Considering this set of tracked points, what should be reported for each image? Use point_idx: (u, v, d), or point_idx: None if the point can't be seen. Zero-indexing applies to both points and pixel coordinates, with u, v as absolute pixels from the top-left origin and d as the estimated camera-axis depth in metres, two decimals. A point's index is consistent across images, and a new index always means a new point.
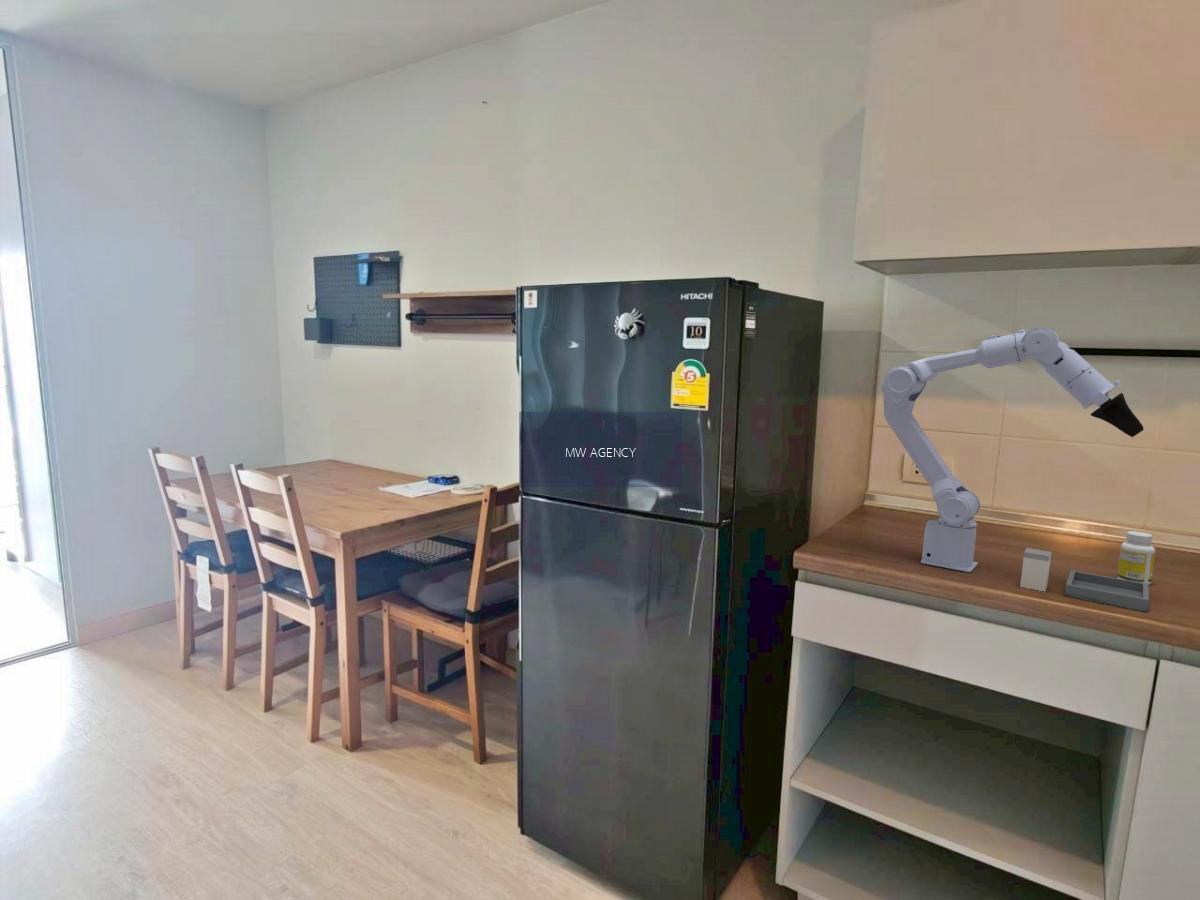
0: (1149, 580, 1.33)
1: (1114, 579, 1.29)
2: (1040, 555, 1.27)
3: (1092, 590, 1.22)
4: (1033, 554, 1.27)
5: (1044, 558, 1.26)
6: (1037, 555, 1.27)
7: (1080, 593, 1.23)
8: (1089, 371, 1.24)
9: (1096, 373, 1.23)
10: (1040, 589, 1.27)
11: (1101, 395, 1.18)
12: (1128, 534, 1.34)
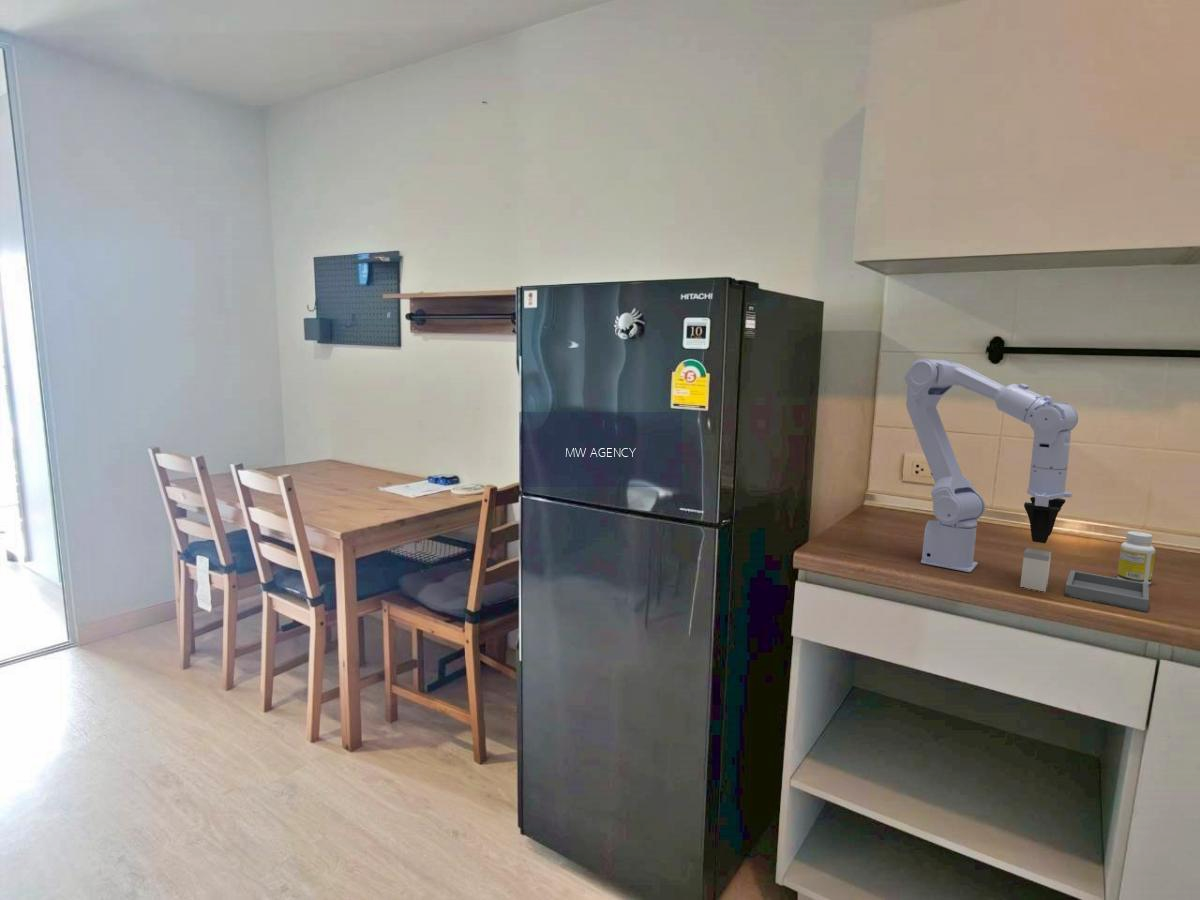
0: (1149, 580, 1.33)
1: (1114, 579, 1.29)
2: (1040, 555, 1.27)
3: (1092, 590, 1.22)
4: (1033, 554, 1.27)
5: (1044, 558, 1.26)
6: (1037, 555, 1.27)
7: (1080, 593, 1.23)
8: (1060, 471, 1.24)
9: (1063, 477, 1.24)
10: (1040, 589, 1.27)
11: (1046, 500, 1.21)
12: (1128, 534, 1.34)
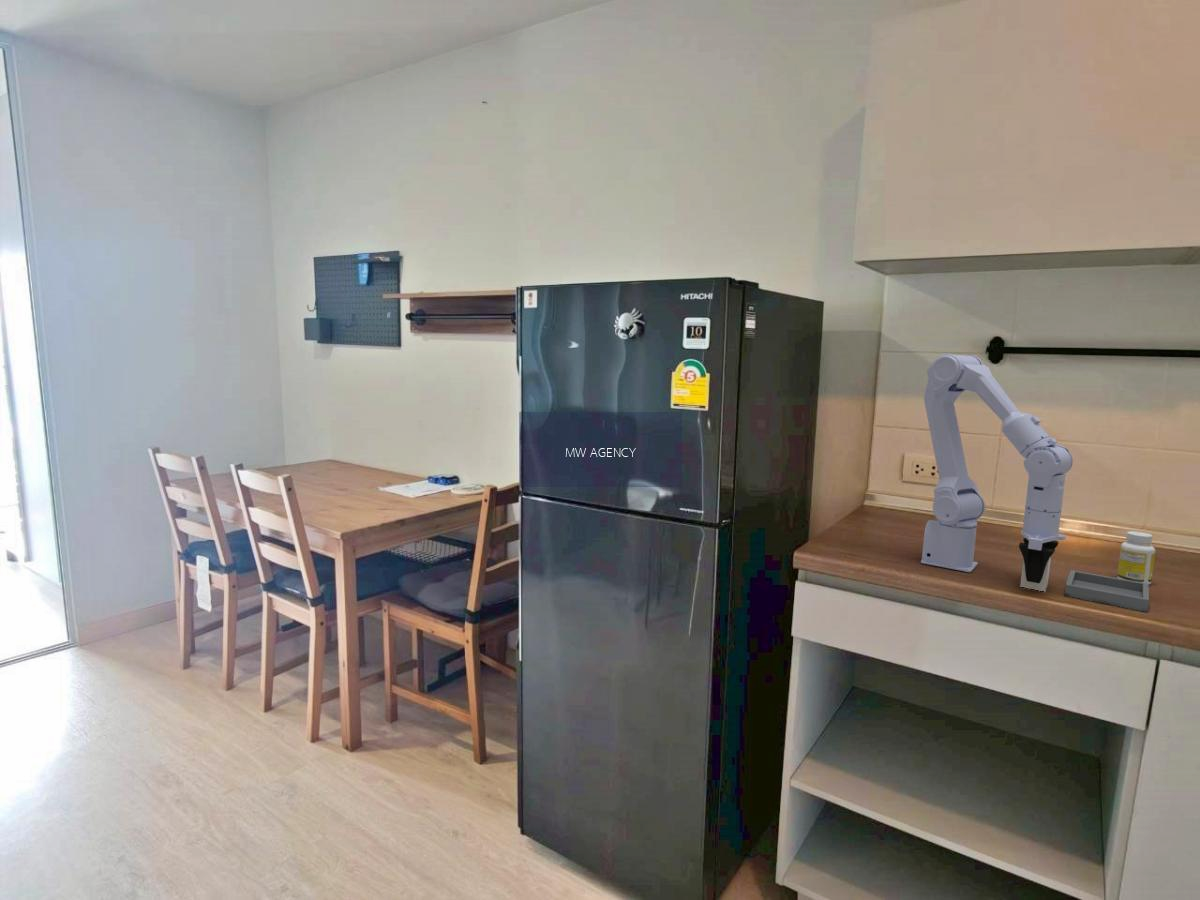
0: (1149, 580, 1.33)
1: (1114, 579, 1.29)
2: None
3: (1092, 590, 1.22)
4: None
5: None
6: None
7: (1080, 593, 1.23)
8: (1054, 515, 1.25)
9: (1057, 520, 1.25)
10: (1040, 589, 1.27)
11: (1039, 543, 1.22)
12: (1128, 534, 1.34)
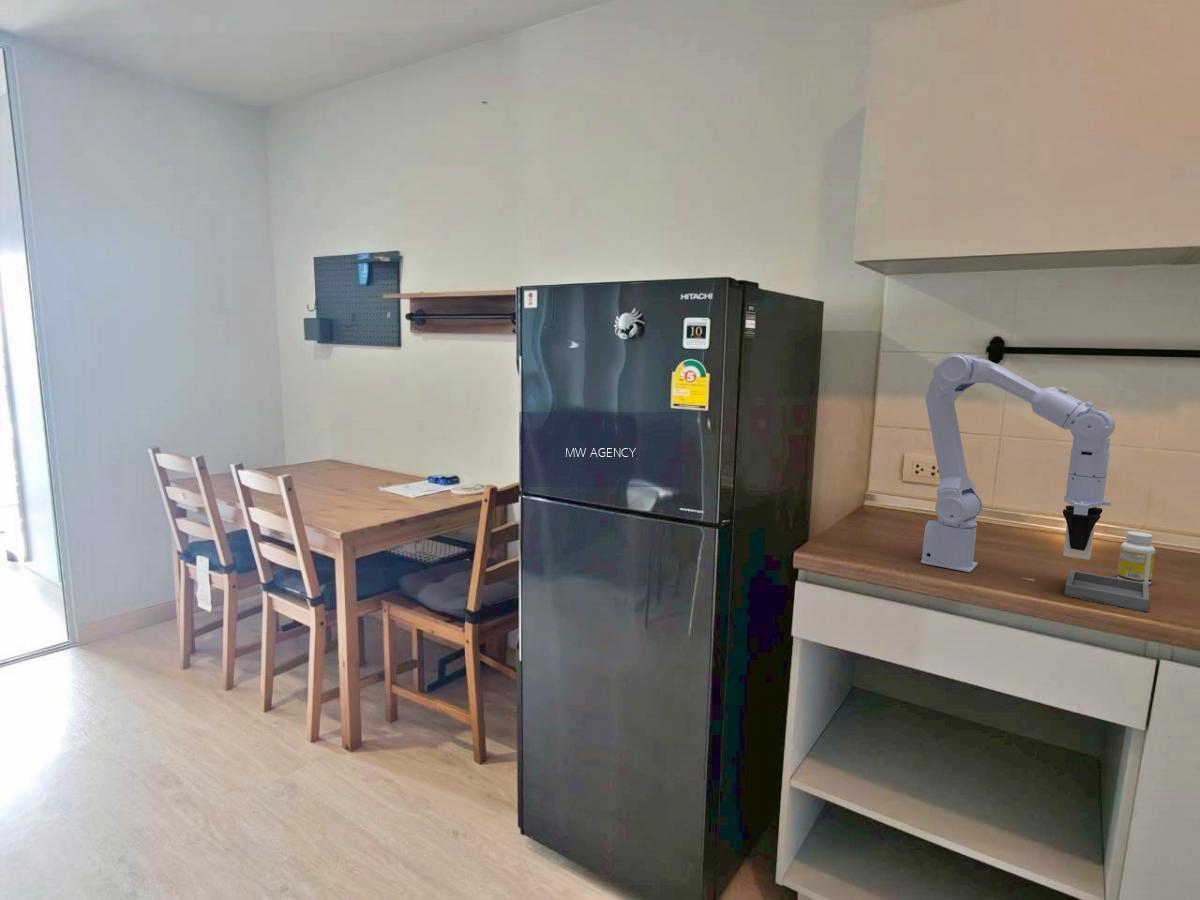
0: (1149, 580, 1.33)
1: (1114, 579, 1.29)
2: None
3: (1092, 590, 1.22)
4: None
5: None
6: None
7: (1080, 593, 1.23)
8: (1099, 480, 1.22)
9: (1102, 485, 1.22)
10: (1084, 556, 1.24)
11: (1085, 508, 1.19)
12: (1128, 534, 1.34)
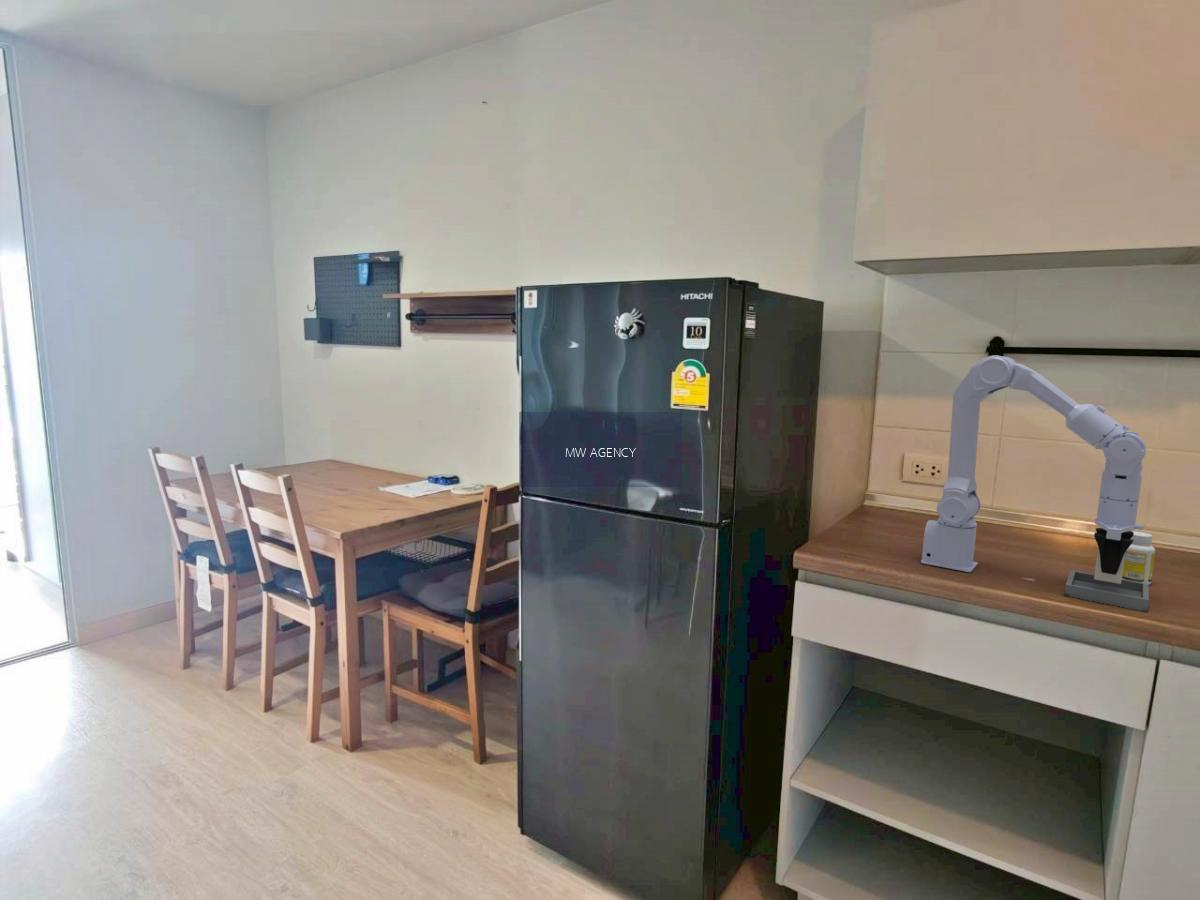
0: (1149, 580, 1.33)
1: None
2: None
3: (1092, 590, 1.22)
4: None
5: None
6: None
7: (1080, 593, 1.23)
8: (1132, 503, 1.21)
9: (1135, 509, 1.21)
10: (1116, 580, 1.23)
11: (1118, 533, 1.18)
12: None
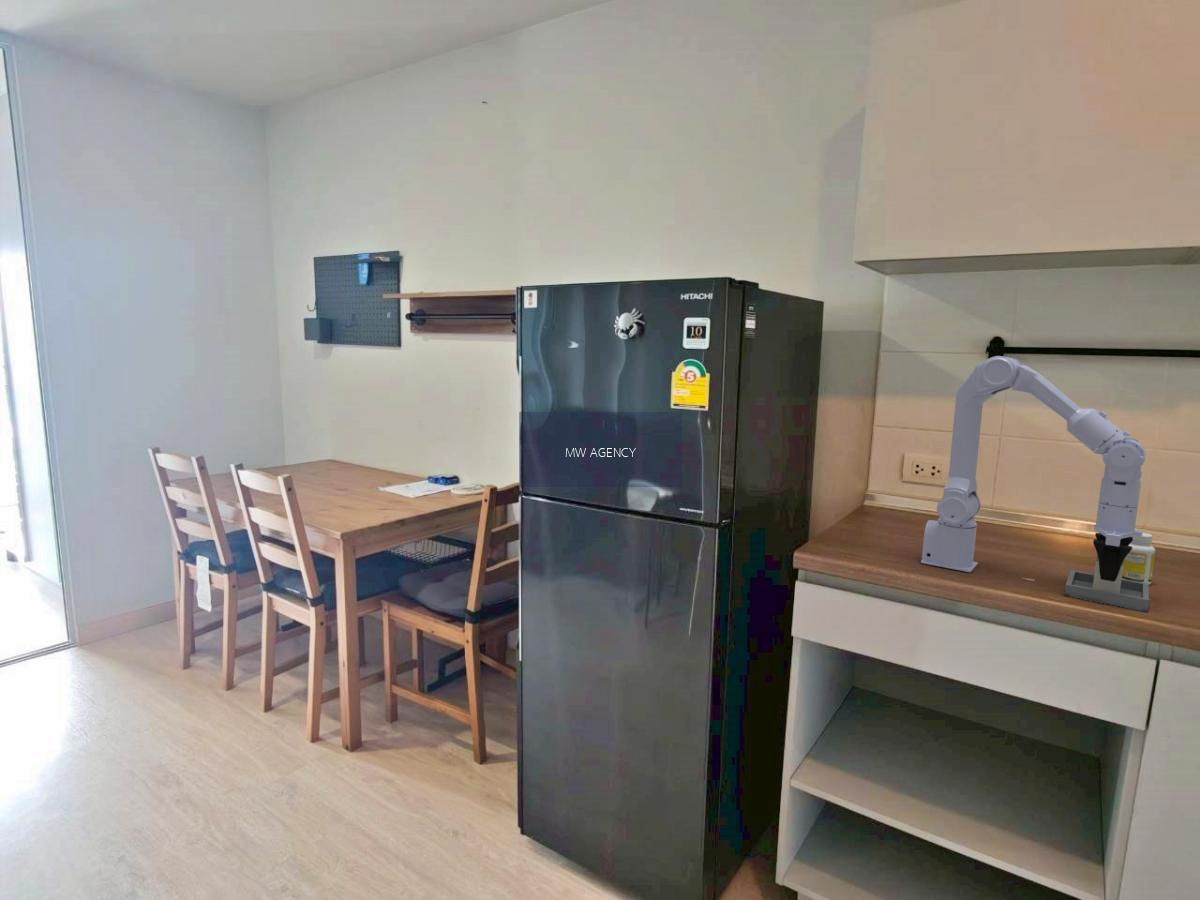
0: (1149, 580, 1.33)
1: None
2: None
3: (1092, 590, 1.22)
4: None
5: None
6: None
7: (1080, 593, 1.23)
8: (1131, 510, 1.21)
9: (1134, 515, 1.21)
10: None
11: (1117, 539, 1.18)
12: None
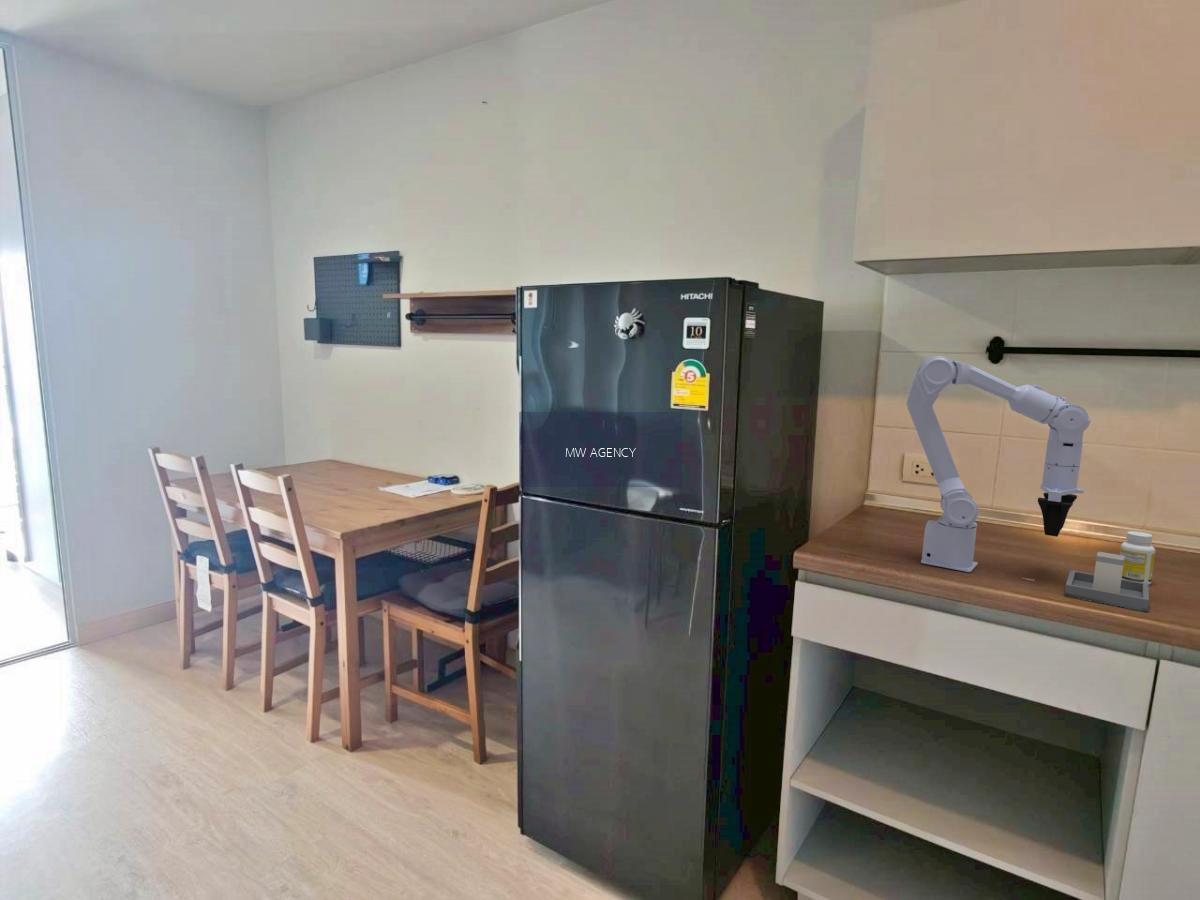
0: (1149, 580, 1.33)
1: None
2: (1114, 559, 1.23)
3: (1092, 590, 1.22)
4: (1106, 558, 1.24)
5: (1118, 562, 1.23)
6: (1111, 559, 1.23)
7: (1080, 593, 1.23)
8: (1073, 469, 1.30)
9: (1076, 474, 1.31)
10: None
11: (1058, 495, 1.28)
12: (1128, 534, 1.34)
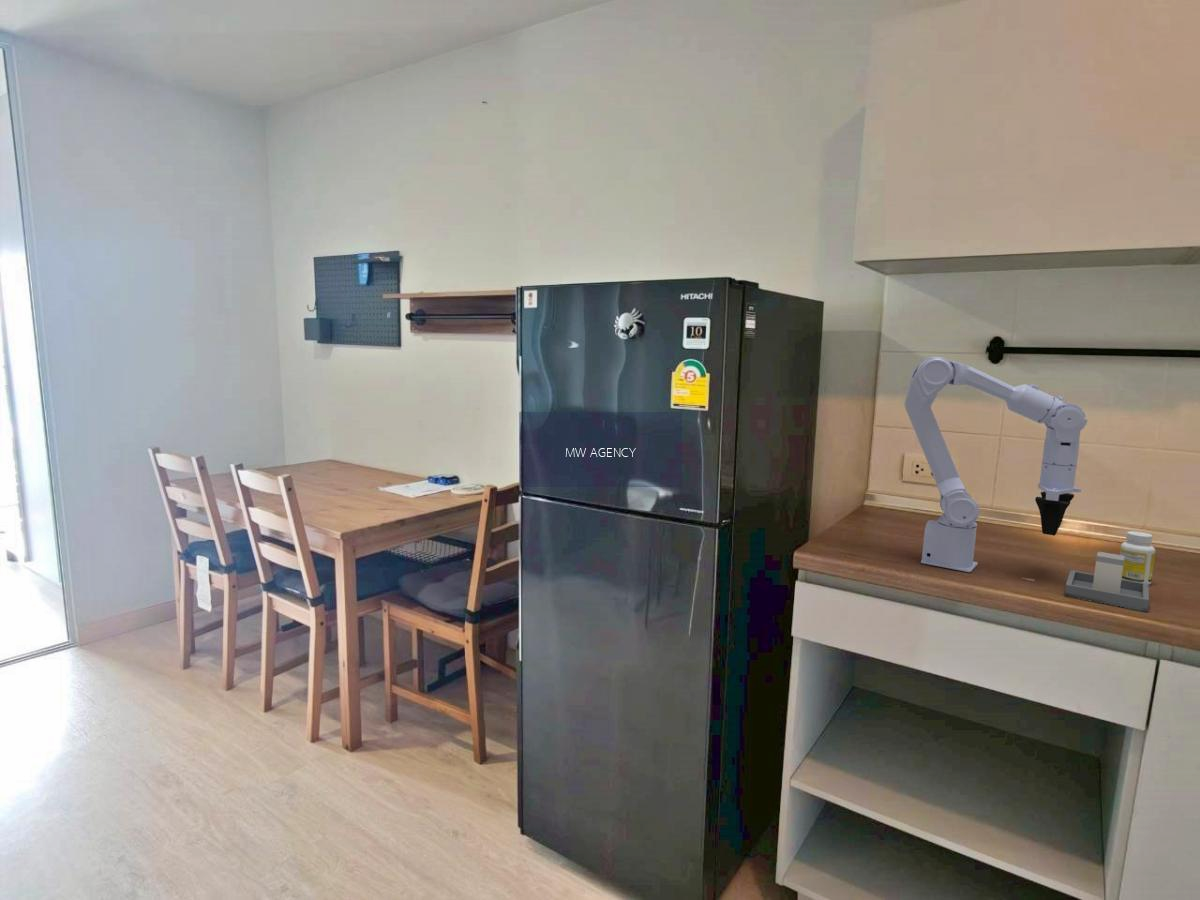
0: (1149, 580, 1.33)
1: None
2: (1114, 559, 1.23)
3: (1092, 590, 1.22)
4: (1106, 558, 1.24)
5: (1118, 562, 1.23)
6: (1111, 559, 1.23)
7: (1080, 593, 1.23)
8: (1070, 468, 1.31)
9: (1073, 473, 1.31)
10: None
11: (1056, 494, 1.28)
12: (1128, 534, 1.34)
